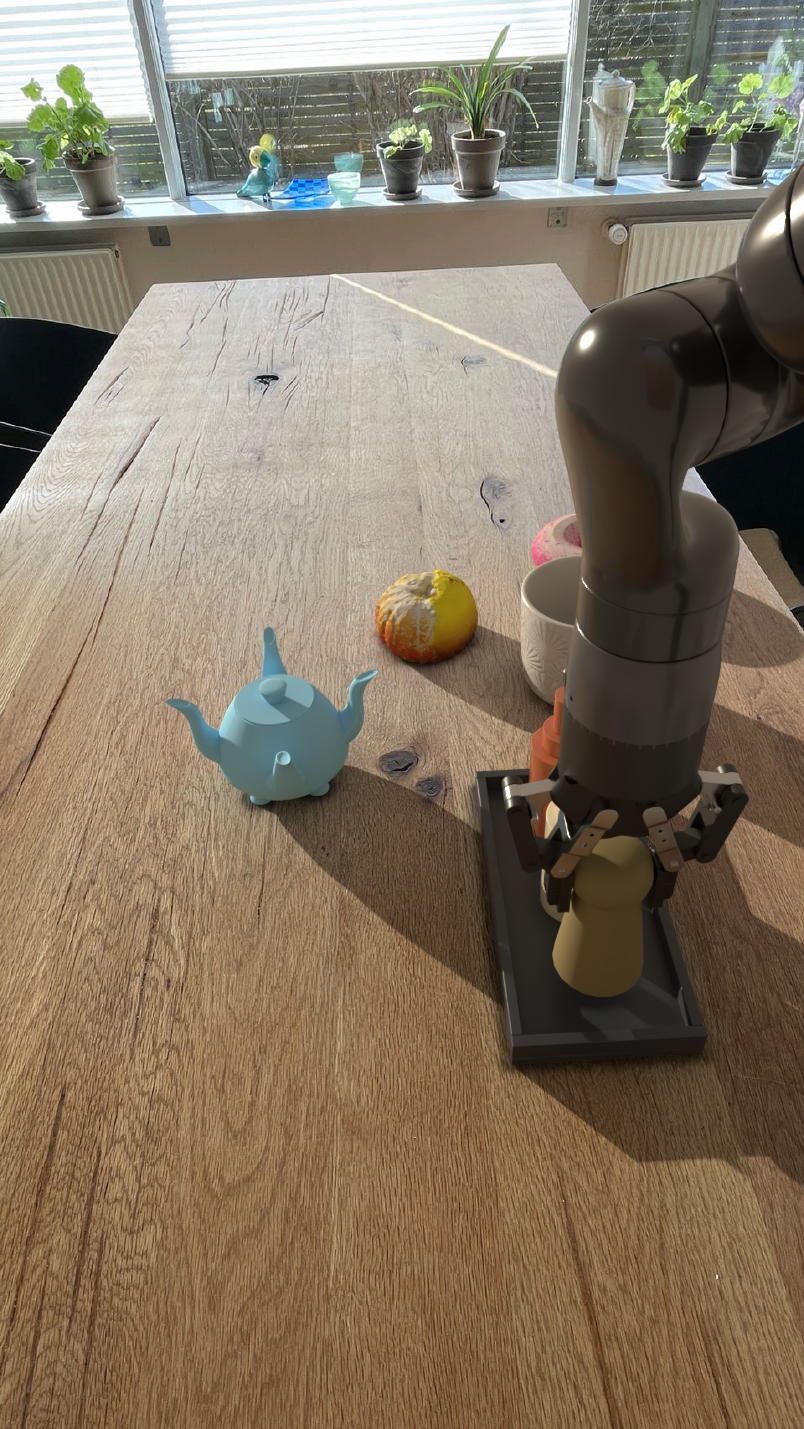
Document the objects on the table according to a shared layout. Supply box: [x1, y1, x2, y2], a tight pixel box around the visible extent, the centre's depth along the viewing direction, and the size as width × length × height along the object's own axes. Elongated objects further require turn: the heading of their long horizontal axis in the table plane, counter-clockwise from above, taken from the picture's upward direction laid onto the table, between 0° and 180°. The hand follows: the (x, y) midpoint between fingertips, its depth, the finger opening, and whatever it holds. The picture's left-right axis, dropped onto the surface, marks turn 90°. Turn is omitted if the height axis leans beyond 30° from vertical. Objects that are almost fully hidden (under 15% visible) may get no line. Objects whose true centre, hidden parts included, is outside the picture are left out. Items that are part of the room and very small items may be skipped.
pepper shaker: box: [553, 836, 655, 997], centre depth 61 cm, size 6×6×11 cm
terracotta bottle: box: [529, 686, 564, 838], centre depth 73 cm, size 5×5×14 cm
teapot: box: [165, 626, 378, 806], centre depth 81 cm, size 13×13×10 cm
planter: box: [520, 555, 582, 707], centre depth 89 cm, size 12×12×11 cm
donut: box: [531, 512, 582, 568], centre depth 106 cm, size 14×13×5 cm
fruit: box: [374, 568, 479, 665], centre depth 98 cm, size 11×10×8 cm
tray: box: [474, 767, 708, 1066], centre depth 72 cm, size 26×13×2 cm, turn 2°
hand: (606, 898), depth 60 cm, fingers closed on pepper shaker, 5 cm apart
